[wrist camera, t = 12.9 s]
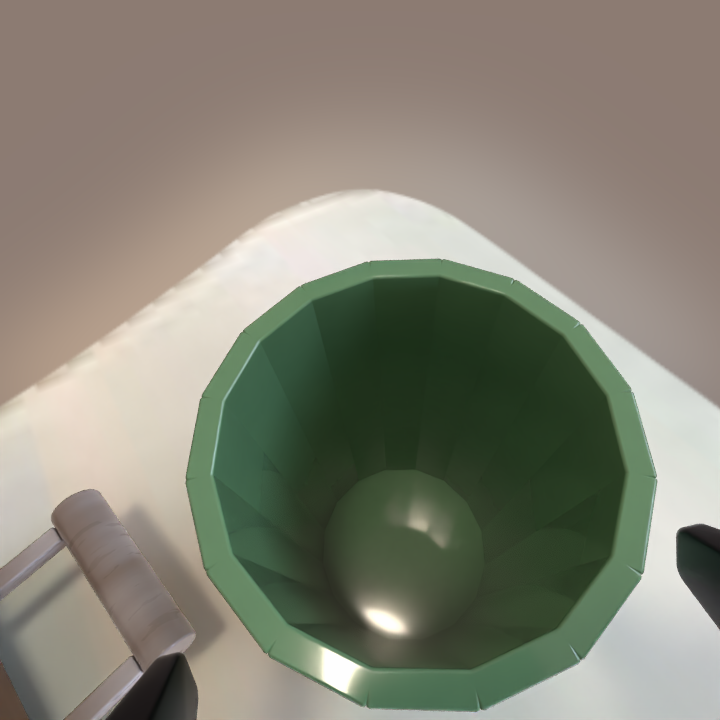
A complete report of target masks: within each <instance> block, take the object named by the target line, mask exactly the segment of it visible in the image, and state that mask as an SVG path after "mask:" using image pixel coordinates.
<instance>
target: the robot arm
mask: <svg viewBox="0 0 720 720" xmlns="http://www.w3.org/2000/svg"><path fill="white" fill-rule="evenodd" d="M676 555H677V569H678V572H679V574H680V576H681V578H682V580H683V581H684V583H685V584H686V585H687V587H688V588H689V589H690V591H691V592H692V593H693V595H694V596H695V597H696V599H697V600H698V601H699V603H700V604H701V605H702V607H703V608H704V609H705V611H706V612H707V613H708V615H709V616H710V617H711V619H712V620H713V621H714V623H715V624H716V625H717V627H718V628H719V629H720V530H719V529H716V528H714V527H711V526H708V525H705V524H695V525H691V526H687V527H683V528H680V529H679V530H678V532H677V534H676ZM197 709H198V690H197V686H196V683H195V680H194V678H193V675H192V673H191V670H190V667H189V665H188V662H187V660H186V657H185V656H184V654H183V653H181V652H175V653H171V654H167V655H163V656H160V657H158V658H156V659H155V660H154V661H153V663H152V664H151V665H150V666H149V667H148V669H147V670H146V671H145V672H144V673H143V675H142V676H141V677H140V678H139V679H138V681H137V682H136V683H135V684H134V686H133V687H132V688H131V689H130V690H129V692H128V693H127V694H126V695H125V696H124V698H123V699H122V700H121V701H120V703H119V704H118V705H117V706H116V707H115V709H114V710H113V711H112V712H111V713H110V715H109V716H108V717H107V718H106V719H105V720H197Z"/></svg>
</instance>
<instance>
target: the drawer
mask: <svg viewBox="0 0 720 720" xmlns="http://www.w3.org/2000/svg"><path fill="white" fill-rule="evenodd" d="M51 521H52V523H53V525H54V526H55V528H50V529H49V530H48V531H47V532H46V533H44V534H43V535H42V536H41V537H39V538H38V539H37V540H36V541H34V542H33V543H32V544H31V545H30V546H28V547H27V548H26V549H25V550H23V551H22V552H21V553H20V554H19V555H17V556H16V557H15V558H14V559H12V560H11V561H10V562H9V563H8V564H6V565H5V566H4V567H3V568H1V569H0V601H1V600H2V599H3V598H4V597H6V596H7V595H8V594H9V593H10V592H12V591H13V590H14V589H15V588H16V587H18V586H19V585H20V584H21V583H22V582H23V581H25V580H26V579H27V578H28V577H29V576H31V575H32V574H33V573H34V572H35V571H37V570H38V569H39V568H40V567H41V566H43V565H44V564H45V563H46V562H47V561H49V560H50V559H51V558H52V557H53V556H55V555H56V554H57V553H58V552H59V551H61V550H62V549H63V548H64V547H65V546H67V548H68V549H69V551H70V553H71V554H72V556H73V558H74V559H75V561H76V562H77V564H78V566H79V567H80V569H81V571H82V572H83V574H84V576H85V577H86V579H87V580H88V582H89V584H90V585H91V587H92V589H93V590H94V592H95V593H96V595H97V597H98V598H99V600H100V602H101V603H102V605H103V607H104V608H105V610H106V611H107V613H108V615H109V616H110V618H111V620H112V621H113V623H114V625H115V626H116V628H117V629H118V631H119V633H120V634H121V636H122V638H123V639H124V641H125V643H126V644H127V646H128V647H129V649H130V651H131V652H132V654H133V656H130V657H129V658H128V659H126V660H125V661H124V662H123V663H122V664H121V665H120V666H119V667H118V668H117V669H116V670H115V671H114V672H113V673H112V674H111V675H110V676H109V677H108V678H107V679H105V680H104V681H103V682H102V683H101V684H100V685H99V686H98V687H97V688H96V689H95V690H94V691H93V692H92V693H91V694H90V695H89V696H88V697H87V698H85V699H84V700H83V701H82V702H81V703H80V704H79V705H78V706H77V707H76V708H75V709H74V710H73V711H72V712H71V713H70V714H69V715H68V716H67V717H66V718H64V719H63V720H100V719H101V718H102V717H103V716H104V715H105V714H106V713H107V712H108V711H109V710H110V709H111V708H112V707H113V706H114V705H115V704H116V703H117V702H118V701H119V700H120V699H121V698H122V697H123V696H124V695H125V694H127V693H128V692H129V690H130V689H131V688H132V687H133V686H134V684H135V683H136V682H137V681H138V679H139V678H140V677H141V676H142V675H143V673H144V672H145V671H146V670H147V669H148V667H149V666H150V665H151V664H152V663H153V661H154V660H155V659H156V658H158V657H160V656H163V655H167V654H171V653H175V652H181V653H184V652H185V651H186V649H187V648H188V647H189V646H190V645H191V643H192V642H193V641H194V639H195V637H196V632H195V630H194V629H193V627H192V626H191V624H190V623H189V621H188V620H187V618H186V617H185V616H184V614H183V613H182V611H181V610H180V608H179V607H178V605H177V604H176V602H175V601H174V599H173V598H172V597H171V595H170V594H169V592H168V591H167V589H166V588H165V586H164V585H163V583H162V582H161V581H160V579H159V578H158V576H157V575H156V573H155V572H154V570H153V569H152V567H151V566H150V564H149V563H148V562H147V560H146V559H145V557H144V556H143V554H142V553H141V551H140V550H139V548H138V547H137V546H136V544H135V543H134V541H133V540H132V538H131V537H130V535H129V534H128V532H127V531H126V529H125V528H124V527H123V525H122V524H121V522H120V521H119V519H118V518H117V516H116V515H115V513H114V512H113V511H112V509H111V508H110V506H109V505H108V503H107V502H106V500H105V499H104V497H103V496H102V495H101V493H100V492H99V491H97V490H94V489H88V490H83V491H80V492H78V493H75V494H73V495H71V496H70V497H68V498H66V499H65V500H64V501H62V502H61V503H60V504H59V505H58V506H57V507H56V508H55V510H54V511H53V513H52V515H51ZM0 720H29V718H28V716H27V714H26V712H25V710H24V708H23V706H22V703H21V701H20V699H19V697H18V695H17V693H16V691H15V689H14V687H13V685H12V683H11V681H10V679H9V677H8V675H7V673H6V670H5V668H4V666H3V664H2V662H1V660H0Z"/></svg>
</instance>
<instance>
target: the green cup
mask: <svg viewBox="0 0 720 720" xmlns="http://www.w3.org/2000/svg"><path fill="white" fill-rule="evenodd" d="M656 476H657V475H656V471H655V467H654V464H653V460H652V457H651V453H650V450H649V446H648V443H647V439H646V436H645V432H644V428H643V425H642V421H641V418H640V414H639V411H638V407H637V404H636V400H635V396H634V393H633V392H631V387H630V386H629V385H628V384H627V382H626V381H625V380H624V378H623V377H622V376H621V374H620V373H619V372H618V370H617V369H616V368H615V366H614V365H613V364H612V362H611V361H610V360H609V358H608V357H607V356H606V355H605V353H604V352H603V351H602V349H601V348H600V347H599V345H598V344H597V343H596V341H595V340H594V339H593V337H592V336H591V335H590V333H589V332H588V331H587V329H586V328H585V327H584V326H583V325H582V324H580V322H579V321H578V320H576V319H575V318H573V317H572V316H570V315H569V314H567V313H566V312H564V311H563V310H561V309H560V308H558V307H557V306H555V305H554V304H552V303H551V302H549V301H548V300H546V299H545V298H543V297H542V296H540V295H539V294H537V293H536V292H534V291H533V290H531V289H530V288H528V287H526V286H525V285H523V284H522V283H520V282H519V281H517V280H515V281H514V279H513V278H510V277H506V276H503V275H499V274H496V273H492V272H488V271H485V270H481V269H478V268H474V267H471V266H467V265H463V264H460V263H456V262H453V261H449V260H445V259H443V260H441V259H414V260H383V261H370V262H364V263H362V264H359V265H356V266H353V267H350V268H347V269H345V270H342V271H339V272H336V273H333V274H331V275H328V276H325V277H322V278H319V279H317V280H314V281H311V282H308V283H305V284H303V285H301V287H300V286H299V287H297V288H296V289H295V290H294V291H292V292H291V293H290V294H288V295H287V296H286V297H285V298H283V299H282V300H281V301H280V302H278V303H277V304H276V305H274V306H273V307H272V308H271V309H269V310H268V311H267V312H266V313H264V314H263V315H262V316H260V317H259V318H258V319H257V320H255V321H254V322H253V323H252V324H250V325H249V326H248V327H246V328H245V329H244V330H243V332H241V333H240V335H239V336H238V338H237V340H236V341H235V343H234V344H233V346H232V348H231V349H230V351H229V352H228V354H227V356H226V357H225V359H224V360H223V362H222V364H221V365H220V367H219V368H218V370H217V372H216V373H215V375H214V376H213V378H212V380H211V381H210V383H209V384H208V386H207V388H206V389H205V391H204V392H203V394H202V398H201V399H200V403H199V408H198V414H197V419H196V424H195V430H194V435H193V440H192V446H191V451H190V456H189V462H188V467H187V472H186V480H187V481H186V488H187V493H188V497H189V502H190V506H191V511H192V516H193V520H194V525H195V529H196V534H197V539H198V543H199V548H200V553H201V557H202V562H203V566H204V569H205V570H206V573H207V576H208V577H209V579H210V580H211V581H212V583H213V584H214V585H215V587H216V588H217V589H218V591H219V592H220V593H221V595H222V596H223V598H224V599H225V600H226V602H227V603H228V604H229V606H230V607H231V608H232V610H233V611H234V612H235V614H236V615H237V617H238V618H239V619H240V621H241V622H242V623H243V625H244V626H245V627H246V629H247V630H248V631H249V633H250V634H251V636H252V637H253V638H254V640H255V641H256V642H257V644H258V645H259V646H260V648H261V649H262V650H263V652H264V653H266V654H268V656H269V657H270V658H271V659H273V660H275V661H277V662H279V663H281V664H283V665H284V666H286V667H288V668H290V669H292V670H294V671H296V672H297V673H299V674H301V675H303V676H305V677H307V678H309V679H311V680H312V681H314V682H316V683H318V684H320V685H322V686H324V687H325V688H327V689H329V690H331V691H333V692H335V693H337V694H338V695H340V696H342V697H344V698H346V699H348V700H350V701H351V702H353V703H355V704H357V705H359V706H361V707H365V706H366V707H367V708H369V709H385V710H421V711H457V712H478V711H480V709H481V710H487V709H489V708H491V707H493V706H495V705H497V704H499V703H501V702H503V701H505V700H507V699H509V698H511V697H513V696H515V695H517V694H519V693H521V692H523V691H525V690H527V689H529V688H531V687H533V686H535V685H537V684H539V683H541V682H543V681H545V680H547V679H549V678H551V677H553V676H555V675H557V674H559V673H561V672H563V671H565V670H567V669H569V668H572V667H574V666H576V665H578V664H579V662H580V660H583V659H585V657H586V656H587V654H588V653H589V652H590V650H591V649H592V647H593V646H594V645H595V643H596V642H597V640H598V639H599V638H600V636H601V635H602V633H603V632H604V630H605V629H606V628H607V626H608V625H609V623H610V622H611V621H612V619H613V618H614V616H615V615H616V614H617V612H618V611H619V609H620V608H621V607H622V605H623V604H624V602H625V601H626V600H627V598H628V597H629V595H630V594H631V593H632V591H633V590H634V588H635V587H636V585H637V584H638V583H639V581H640V580H641V575H642V574H643V572H644V567H645V560H646V553H647V547H648V540H649V533H650V527H651V520H652V513H653V507H654V500H655V493H656V486H657V479H656Z"/></svg>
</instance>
